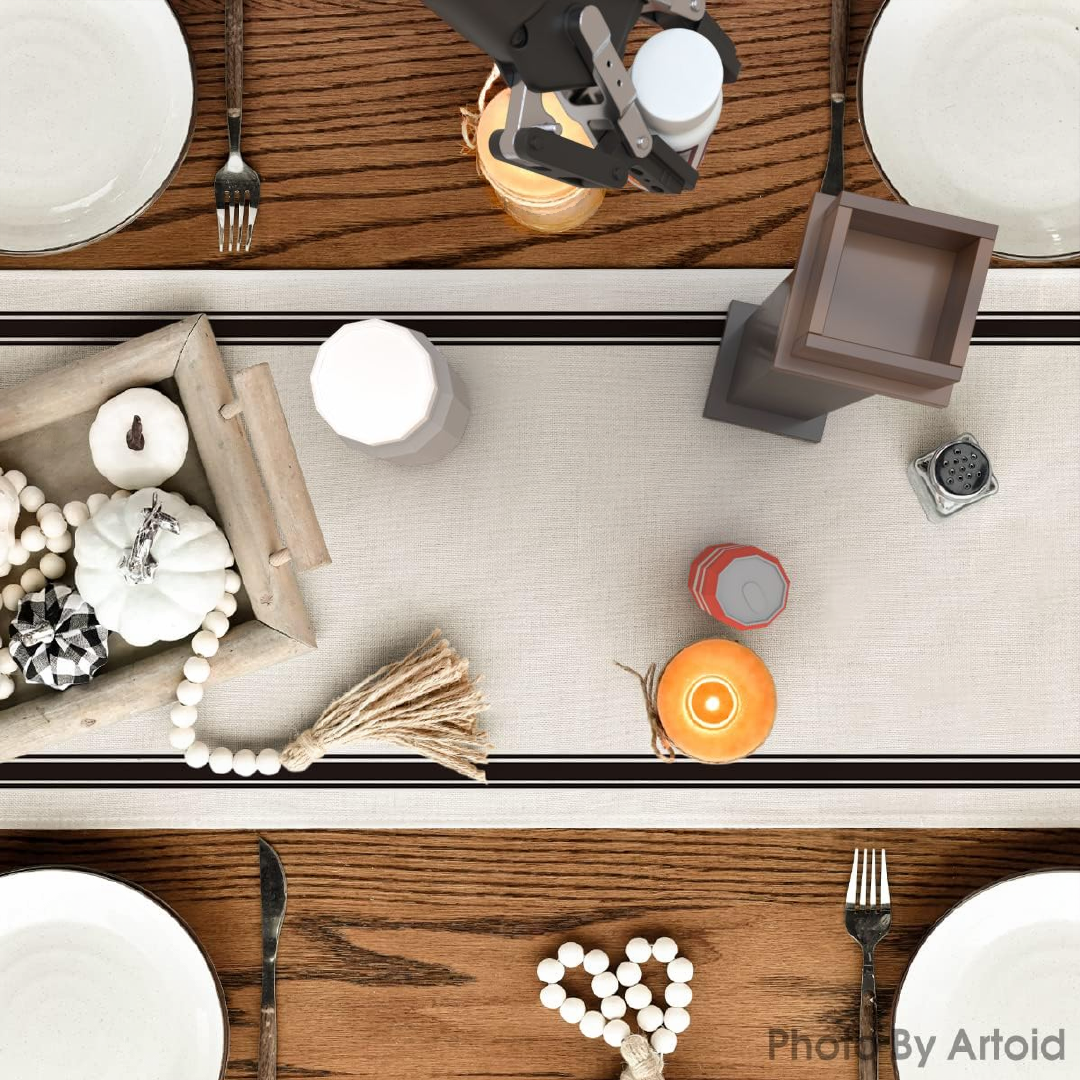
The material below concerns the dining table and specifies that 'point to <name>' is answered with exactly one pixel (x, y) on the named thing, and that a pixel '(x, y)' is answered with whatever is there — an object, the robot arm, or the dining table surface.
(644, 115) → the pill bottle
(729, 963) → the dining table surface
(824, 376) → the socket cup
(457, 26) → the robot arm
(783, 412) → the pedestal
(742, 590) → the beverage can
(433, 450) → the jar
